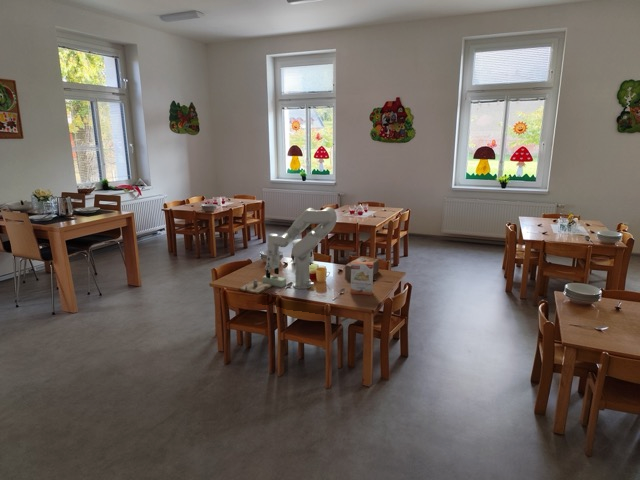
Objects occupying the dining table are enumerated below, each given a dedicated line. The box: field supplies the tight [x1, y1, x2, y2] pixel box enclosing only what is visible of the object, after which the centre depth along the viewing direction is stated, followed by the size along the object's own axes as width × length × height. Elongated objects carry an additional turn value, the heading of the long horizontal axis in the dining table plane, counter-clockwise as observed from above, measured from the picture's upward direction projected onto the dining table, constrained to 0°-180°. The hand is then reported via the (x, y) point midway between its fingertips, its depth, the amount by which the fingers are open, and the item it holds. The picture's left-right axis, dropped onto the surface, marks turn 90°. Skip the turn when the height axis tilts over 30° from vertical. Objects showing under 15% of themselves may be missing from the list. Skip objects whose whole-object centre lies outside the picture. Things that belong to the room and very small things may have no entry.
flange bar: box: [261, 274, 287, 288], centre depth 291 cm, size 16×5×4 cm, turn 61°
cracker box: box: [349, 260, 374, 296], centre depth 272 cm, size 14×6×21 cm, turn 80°
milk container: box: [291, 238, 315, 265], centre depth 334 cm, size 17×17×18 cm
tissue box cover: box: [344, 255, 380, 280], centre depth 308 cm, size 26×14×10 cm, turn 148°
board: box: [238, 279, 273, 295], centre depth 282 cm, size 16×16×6 cm
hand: (272, 275), depth 290 cm, fingers open, 9 cm apart
